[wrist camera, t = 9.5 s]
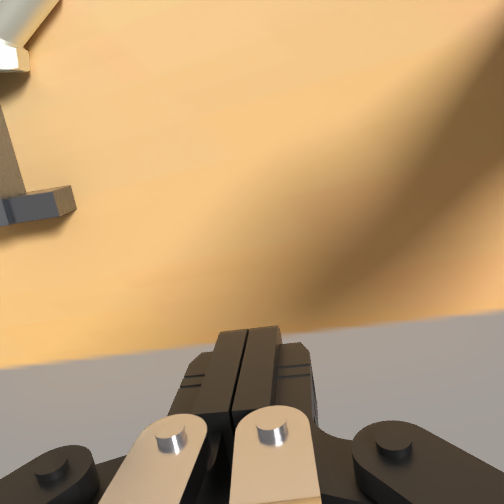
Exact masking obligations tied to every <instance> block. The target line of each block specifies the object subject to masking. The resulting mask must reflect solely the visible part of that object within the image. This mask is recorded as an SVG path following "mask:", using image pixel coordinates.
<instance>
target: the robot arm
mask: <svg viewBox="0 0 504 504" xmlns="http://www.w3.org/2000/svg"><path fill="white" fill-rule="evenodd" d="M0 504H504V473H503V472H502V471H500V470H498V469H496V468H494V467H493V466H491V465H489V464H487V463H485V462H483V461H482V460H480V459H478V458H476V457H474V456H473V455H471V454H469V453H467V452H465V451H463V450H462V449H460V448H458V447H456V446H454V445H452V444H451V443H449V442H447V441H445V440H443V439H441V438H439V437H438V436H436V435H434V434H432V433H430V432H429V431H427V430H425V429H423V428H421V427H419V426H417V425H414V424H411V423H408V422H403V421H381V422H377V423H373V424H371V425H368V426H366V427H365V428H363V429H362V430H360V431H359V432H358V433H357V434H356V436H355V437H354V439H353V441H352V440H345V439H341V438H336V437H334V436H331V435H329V434H327V433H325V432H324V431H322V430H321V429H320V428H319V427H318V411H317V401H316V394H315V387H314V380H313V373H312V367H311V360H310V353H309V351H308V350H307V349H306V348H305V347H304V346H303V344H301V342H300V343H289V344H282V339H281V333H280V329H279V326H269V327H260V328H251V329H250V330H249V329H243V330H234V331H225V332H220V334H219V336H218V339H217V342H216V345H215V348H214V351H213V352H204V353H201V354H200V355H199V356H198V357H197V358H195V359H194V360H193V361H192V362H191V363H190V364H189V366H188V369H187V371H186V373H185V376H184V379H183V380H182V382H181V385H180V389H178V392H177V394H176V396H175V399H174V401H173V404H172V406H171V408H170V411H169V413H168V415H167V417H164V418H162V419H159V420H157V421H155V422H153V423H152V424H150V425H149V426H148V427H146V428H145V429H144V430H143V431H142V432H141V433H140V435H139V436H138V438H137V439H136V441H135V443H134V444H133V446H132V448H131V449H130V451H129V453H128V454H127V455H125V456H122V457H119V458H116V459H113V460H109V461H106V462H103V463H99V464H96V465H95V463H94V460H93V457H92V454H91V452H90V451H89V449H87V448H86V447H83V446H79V445H69V446H63V447H59V448H56V449H53V450H50V451H48V452H46V453H44V454H42V455H40V456H39V457H37V458H35V459H34V460H32V461H30V462H28V463H27V464H25V465H23V466H22V467H20V468H19V469H17V470H15V471H14V472H12V473H10V474H9V475H7V476H5V477H4V478H2V479H0Z"/></svg>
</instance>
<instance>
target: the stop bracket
mask: <svg viewBox="0 0 504 504" xmlns="http://www.w3.org/2000/svg"><path fill="white" fill-rule="evenodd" d="M75 209H77V208H76V204H75V200H74V197H73V193H72V189H71V186H70V185H69V186H63V187H57V188H51V189H44V190H38V191H32V192H26V190H25V187H24V184H23V180H22V177H21V173H20V170H19V167H18V163H17V160H16V157H15V153H14V150H13V146H12V143H11V140H10V136H9V133H8V130H7V126H6V123H5V119H4V116H3V113H2V109H1V106H0V226H7V225H11V224H14V223H20V222H27V221H34V220H40V219H47V218H53V217H60V216H62V215H64V214H66V213H69V212H71V211H73V210H75Z"/></svg>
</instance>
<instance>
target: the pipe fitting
mask: <svg viewBox="0 0 504 504" xmlns="http://www.w3.org/2000/svg"><path fill="white" fill-rule="evenodd" d="M58 1H59V0H0V73H22V72H28V71H30V70H31V67H30V60H29V52H28V51H27V50H26V49H24V47H23V46H24V45H25V44H26V42H27V41H28V40H29V39H30V37H31V36H32V35H33V33H34V32H35V31H36V30H37V28H38V27H39V26H40V24H41V23H42V22H43V21H44V19H45V18H46V17H47V15H48V14H49V13H50V12H51V10H52V9H53V8H54V6H55V5H56V4H57V3H58Z"/></svg>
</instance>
